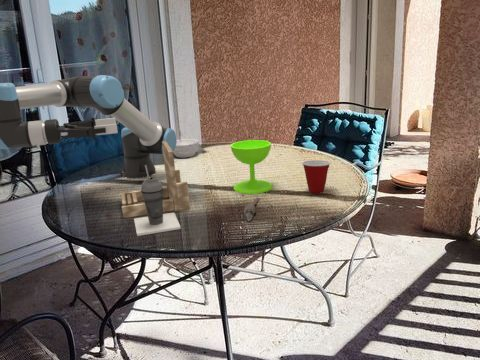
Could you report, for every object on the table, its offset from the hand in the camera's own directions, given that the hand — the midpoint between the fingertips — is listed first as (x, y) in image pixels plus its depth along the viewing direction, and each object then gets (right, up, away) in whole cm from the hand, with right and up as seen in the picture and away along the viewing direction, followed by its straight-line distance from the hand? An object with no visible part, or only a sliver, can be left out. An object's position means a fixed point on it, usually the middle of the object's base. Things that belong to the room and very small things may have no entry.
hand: (116, 125), depth 147 cm
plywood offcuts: (-1, -28, +24) cm, 37 cm away
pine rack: (+7, -27, +26) cm, 38 cm away
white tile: (+12, -33, +7) cm, 35 cm away
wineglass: (+45, -21, +40) cm, 63 cm away
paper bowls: (+10, -5, +100) cm, 101 cm away
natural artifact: (+44, -29, +15) cm, 55 cm away
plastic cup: (+69, -22, +30) cm, 79 cm away
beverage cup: (+11, -32, +7) cm, 35 cm away
